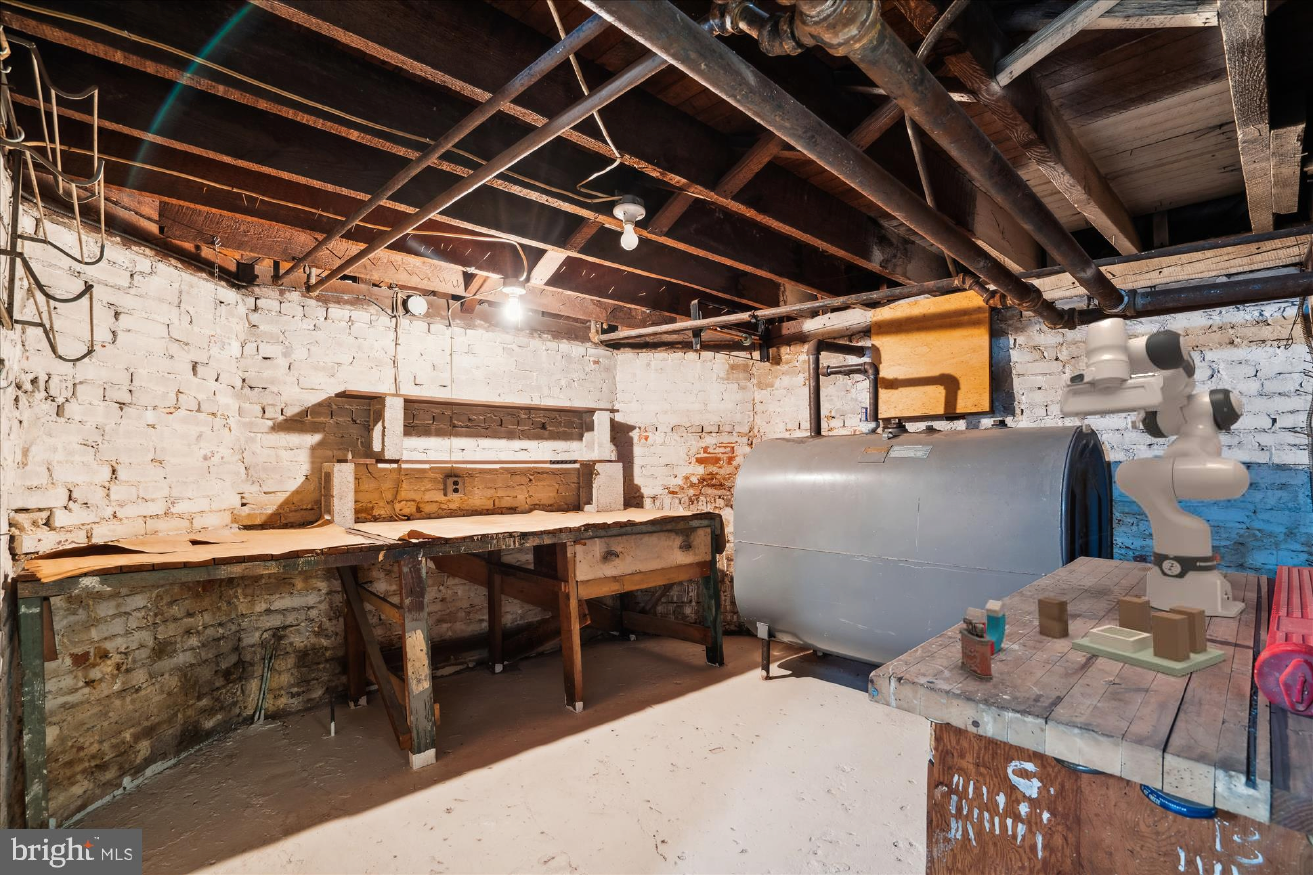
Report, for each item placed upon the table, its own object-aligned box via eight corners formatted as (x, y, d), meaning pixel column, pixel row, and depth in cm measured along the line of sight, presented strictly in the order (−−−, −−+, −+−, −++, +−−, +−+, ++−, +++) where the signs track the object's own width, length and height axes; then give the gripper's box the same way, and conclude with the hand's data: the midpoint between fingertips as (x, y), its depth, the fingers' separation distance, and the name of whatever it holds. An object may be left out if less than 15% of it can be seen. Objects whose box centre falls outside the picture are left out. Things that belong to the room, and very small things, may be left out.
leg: (1050, 631, 132) (1048, 596, 132) (1068, 636, 128) (1067, 600, 128) (1039, 634, 130) (1037, 598, 130) (1058, 639, 127) (1056, 602, 127)
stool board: (1119, 634, 128) (1116, 592, 128) (1225, 659, 112) (1222, 610, 112) (1071, 648, 120) (1069, 603, 121) (1179, 677, 104) (1176, 624, 104)
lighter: (997, 681, 105) (995, 626, 105) (979, 681, 105) (976, 626, 105) (974, 665, 113) (971, 614, 113) (956, 665, 113) (954, 614, 113)
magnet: (993, 644, 124) (991, 598, 124) (1007, 648, 122) (1005, 600, 122) (967, 657, 117) (965, 608, 117) (981, 661, 115) (979, 610, 115)
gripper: (1164, 376, 138) (1168, 430, 135) (1062, 387, 153) (1064, 437, 149) (1161, 366, 134) (1165, 422, 131) (1057, 379, 149) (1058, 429, 145)
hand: (1110, 430), depth 140 cm, fingers open, 8 cm apart
